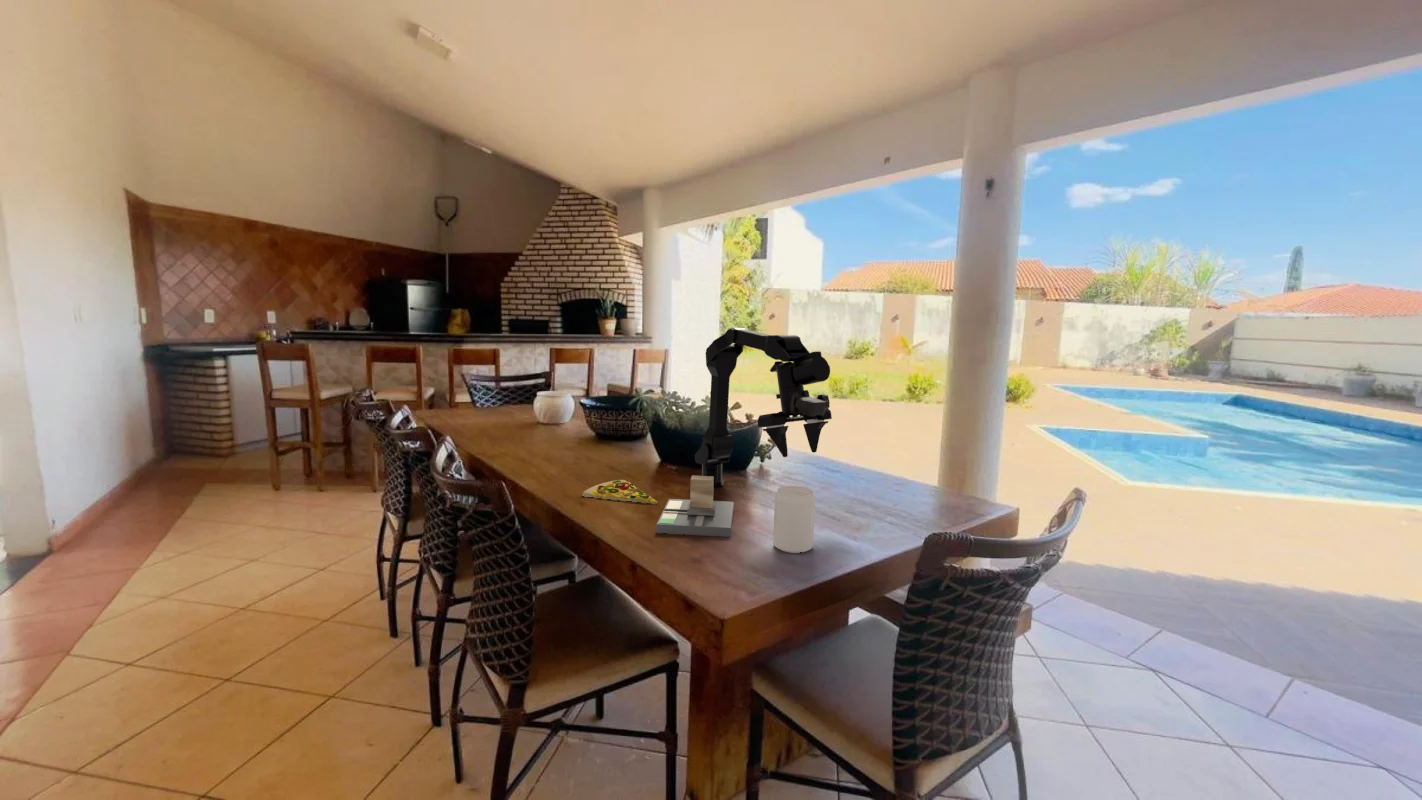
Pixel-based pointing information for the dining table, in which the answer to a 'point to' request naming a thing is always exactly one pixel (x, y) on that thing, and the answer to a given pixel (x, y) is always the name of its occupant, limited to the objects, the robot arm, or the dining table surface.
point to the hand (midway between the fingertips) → (800, 454)
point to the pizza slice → (618, 492)
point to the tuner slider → (700, 497)
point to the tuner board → (696, 520)
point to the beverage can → (794, 519)
